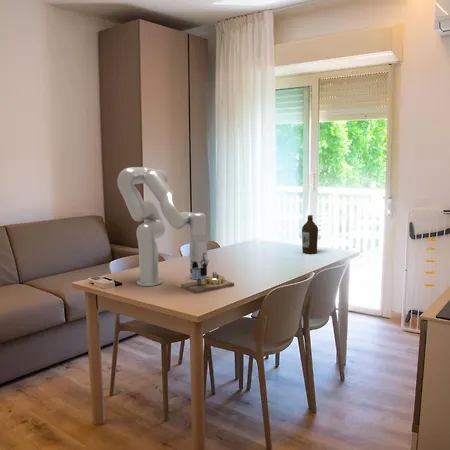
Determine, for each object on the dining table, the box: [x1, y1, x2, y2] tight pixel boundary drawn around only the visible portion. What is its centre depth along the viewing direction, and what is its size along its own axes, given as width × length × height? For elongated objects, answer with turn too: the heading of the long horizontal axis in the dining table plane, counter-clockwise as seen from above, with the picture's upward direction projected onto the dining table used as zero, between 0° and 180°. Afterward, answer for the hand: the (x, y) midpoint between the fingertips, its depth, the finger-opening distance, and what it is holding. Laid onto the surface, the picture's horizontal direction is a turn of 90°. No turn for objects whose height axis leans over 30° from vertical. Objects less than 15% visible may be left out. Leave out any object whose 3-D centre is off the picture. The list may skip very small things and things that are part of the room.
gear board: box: [181, 279, 235, 294], centre depth 241 cm, size 14×22×6 cm, turn 124°
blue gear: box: [191, 267, 208, 280], centre depth 238 cm, size 7×7×4 cm
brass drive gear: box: [204, 271, 226, 285], centre depth 243 cm, size 10×10×5 cm
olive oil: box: [301, 214, 319, 255], centre depth 321 cm, size 11×11×25 cm
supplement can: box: [189, 259, 205, 280], centre depth 258 cm, size 8×8×15 cm
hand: (199, 273), depth 238 cm, fingers closed on blue gear, 7 cm apart
